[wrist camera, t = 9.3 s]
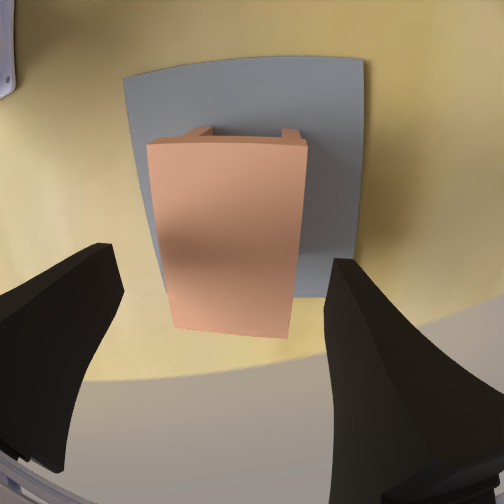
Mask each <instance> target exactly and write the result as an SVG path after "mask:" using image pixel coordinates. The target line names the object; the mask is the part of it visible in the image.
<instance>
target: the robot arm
mask: <svg viewBox="0 0 504 504" xmlns="http://www.w3.org/2000/svg"><path fill="white" fill-rule="evenodd" d="M13 21H14V0H0V99H1V98H3V97H4V96H6V95H8V94H10V93H11V92H13V91H14V90H15V87H16V79H15V66H14V44H13ZM123 294H124V288H123V284H122V281H121V277H120V274H119V270H118V266H117V263H116V259H115V255H114V251H113V247H112V244H108V243H96V244H93V245H91V246H89V247H87V248H85V249H83V250H81V251H79V252H77V253H75V254H73V255H72V256H70V257H68V258H66V259H65V260H63V261H61V262H60V263H58V264H56V265H54V266H53V267H51V268H49V269H48V270H46V271H44V272H42V273H41V274H39V275H37V276H35V277H34V278H32V279H30V280H28V281H27V282H25V283H23V284H21V285H20V286H18V287H16V288H14V289H12V290H10V291H8V292H6V293H4V294H2V295H0V504H42V503H40V502H38V501H36V500H34V499H32V498H30V497H28V496H27V495H25V494H23V493H22V492H21V488H20V486H22V487H23V488H25V489H26V490H28V491H29V492H31V493H33V494H34V495H36V496H38V497H39V498H41V499H42V500H44V501H46V502H48V503H49V504H96V503H94V502H92V501H89V500H87V499H85V498H82V497H80V496H78V495H76V494H74V493H72V492H70V491H68V490H66V489H64V488H62V487H60V486H57V485H56V484H54V483H52V482H50V481H48V480H47V479H45V478H43V477H41V476H39V475H38V474H36V473H34V472H33V471H31V470H29V469H28V468H26V467H25V466H23V465H21V464H20V463H18V462H17V460H18V458H19V457H20V458H21V459H23V460H24V461H26V462H29V461H30V460H32V461H34V462H35V463H37V464H39V465H41V466H42V467H44V468H46V469H48V470H50V471H52V472H54V473H60V472H62V471H64V462H65V452H66V442H67V437H68V431H69V427H70V422H71V417H72V413H73V409H74V406H75V402H76V399H77V395H78V392H79V389H80V386H81V383H82V381H83V378H84V375H85V373H86V370H87V368H88V366H89V364H90V362H91V360H92V358H93V356H94V354H95V352H96V350H97V348H98V347H99V345H100V343H101V341H102V339H103V337H104V335H105V334H106V332H107V330H108V328H109V326H110V324H111V322H112V321H113V319H114V317H115V315H116V312H117V310H118V307H119V305H120V302H121V300H122V297H123ZM324 336H325V343H326V350H327V357H328V363H329V371H330V378H331V386H332V393H333V403H334V445H333V446H334V447H333V466H332V478H331V490H330V498H329V504H504V492H503V493H502V494H499V495H497V496H495V494H494V488H496V487H498V486H499V484H500V479H499V473H500V472H502V471H503V470H504V394H502V393H501V392H499V391H497V390H495V389H494V388H492V387H491V386H489V385H488V384H486V383H485V382H483V381H481V380H480V379H478V378H477V377H475V376H474V375H473V374H471V373H469V372H468V371H467V370H465V369H464V368H463V367H461V366H460V365H459V364H457V363H456V362H455V361H453V360H452V359H451V358H450V357H448V356H447V355H446V354H445V353H443V352H442V351H441V350H440V349H439V348H437V347H436V346H435V345H434V344H433V343H432V342H431V341H430V340H428V339H427V338H426V337H425V336H424V335H423V334H421V332H420V331H419V330H417V329H416V328H415V327H414V326H413V325H412V324H411V323H410V322H409V321H408V320H407V319H406V318H405V317H404V315H403V314H402V313H401V312H400V311H399V310H398V309H397V308H396V307H395V306H394V305H393V304H392V303H391V302H390V301H389V300H388V298H387V297H386V296H385V295H384V294H383V293H382V292H381V291H380V289H379V288H378V287H377V286H376V285H375V284H374V282H373V281H372V280H371V279H370V278H369V277H368V275H367V274H366V273H365V272H364V271H363V270H362V268H361V267H360V266H359V265H358V264H357V263H356V262H355V260H354V259H345V258H334V259H333V265H332V270H331V275H330V280H329V285H328V290H327V295H326V300H325V305H324Z"/></svg>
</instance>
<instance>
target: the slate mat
mask: <svg viewBox="0 0 504 504" xmlns="http://www.w3.org/2000/svg"><path fill="white" fill-rule="evenodd" d="M123 82H124V90H125V98H126V106H127V113H128V120H129V127H130V133H131V139H132V145H133V151H134V157H135V162H136V168H137V173H138V178H139V183H140V188H141V193H142V198H143V202H144V207H145V211H146V216H147V220H148V224H149V229H150V233H151V237H152V241H153V245H154V249H155V253H156V257H157V260H158V264H159V268H160V272H161V275H162V279H163V282H164V286H165V289H166V283H165V278H164V273H163V267H162V261H161V256H160V250H159V244H158V237H157V231H156V224H155V217H154V210H153V202H152V194H151V186H150V177H149V168H148V158H147V147H146V145H147V144H149V143H150V142H152V141H154V140H156V139H158V138H160V137H178V136H182V135H184V134H185V133H187V132H189V131H191V130H192V129H194V128H196V127H213V136H259V137H280V138H281V137H282V128H287V129H299V132H300V136H301V139H305V140H306V143H307V146H308V151H307V164H306V177H305V189H304V201H303V211H302V222H301V232H300V242H299V251H298V260H297V269H296V277H295V286H294V294H293V297H326V295H327V290H328V285H329V280H330V275H331V270H332V265H333V259H334V258H345V259H353V258H354V251H355V242H356V234H357V224H358V214H359V204H360V191H361V177H362V160H363V135H364V71H363V59H355V58H342V57H323V56H273V57H253V58H240V59H229V60H220V61H211V62H204V63H197V64H190V65H184V66H178V67H173V68H168V69H162V70H158V71H153V72H148V73H144V74H140V75H135V76H131V77H127V78H124V79H123ZM166 293H167V289H166Z"/></svg>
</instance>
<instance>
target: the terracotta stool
mask: <svg viewBox="0 0 504 504" xmlns="http://www.w3.org/2000/svg"><path fill="white" fill-rule="evenodd" d="M146 147H147V158H148V168H149V177H150V186H151V194H152V202H153V210H154V217H155V224H156V231H157V237H158V244H159V250H160V256H161V261H162V267H163V273H164V278H165V283H166V289H167V294H168V299H169V304H170V308H171V313H172V318H173V322H174V327H175V328H181V329H188V330H196V331H205V332H214V333H223V334H233V335H243V336H255V337H268V338H282V339H288V332H289V324H290V317H291V309H292V302H293V294H294V286H295V277H296V269H297V260H298V251H299V242H300V232H301V222H302V211H303V201H304V189H305V177H306V164H307V151H308V146H307V143H306V140H305V139H301V136H300V132H299V129H287V128H282V137H281V138H280V137H259V136H213V127H196V128H194V129H192V130H191V131H189V132H187V133H185V134H184V135H182V136H178V137H160V138H158V139H156V140H154V141H152V142H150V143H149V144H147V145H146Z"/></svg>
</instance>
